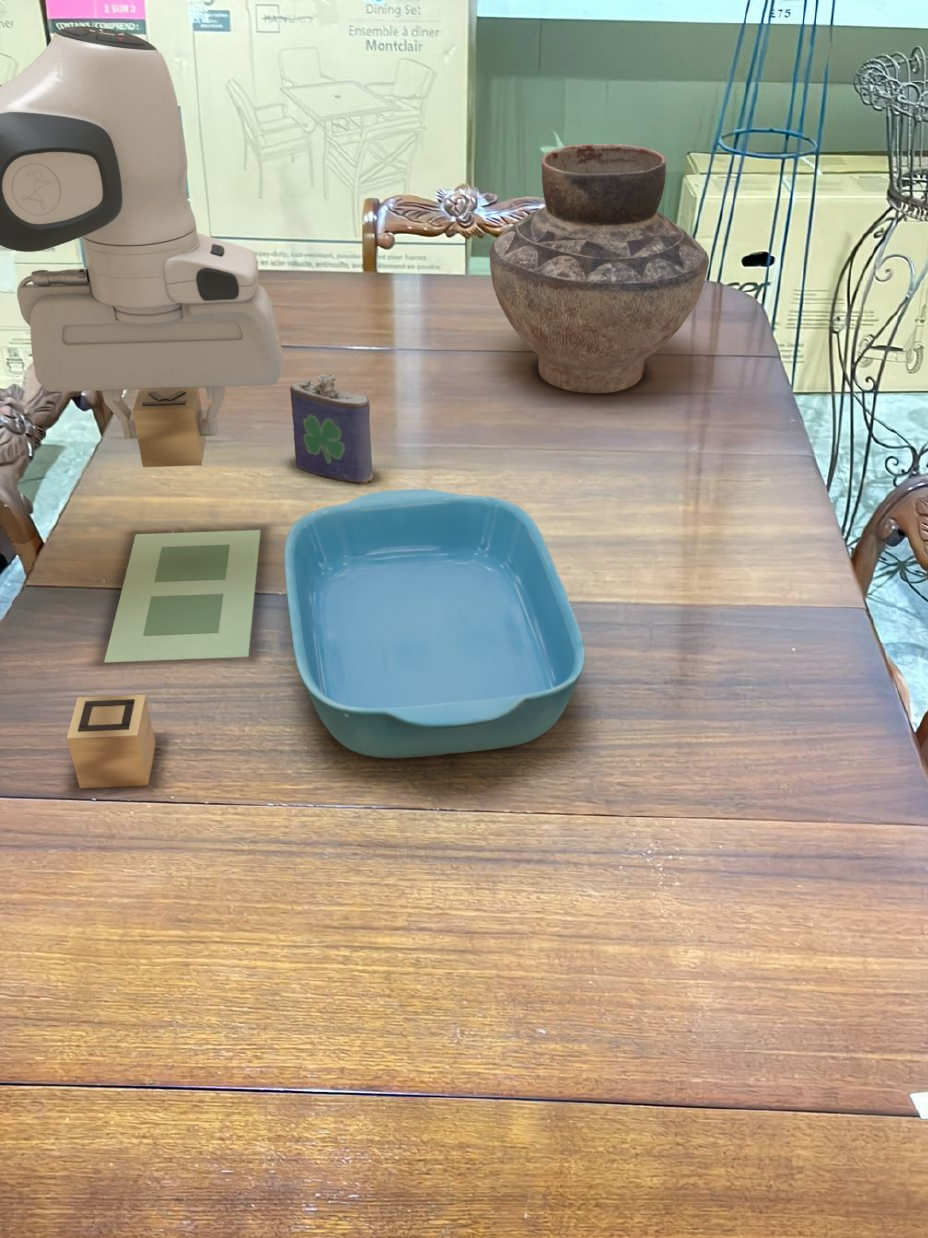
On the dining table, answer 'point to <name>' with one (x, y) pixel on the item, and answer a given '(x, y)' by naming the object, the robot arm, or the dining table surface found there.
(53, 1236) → the dining table surface
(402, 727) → the casserole dish
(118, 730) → the letter O
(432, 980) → the dining table surface
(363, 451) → the flask
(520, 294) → the ceramic pot
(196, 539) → the word mat
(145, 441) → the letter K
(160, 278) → the robot arm
